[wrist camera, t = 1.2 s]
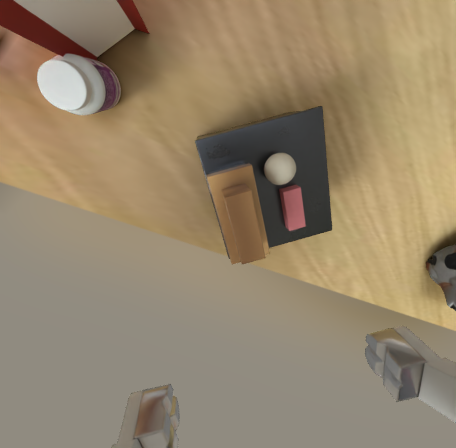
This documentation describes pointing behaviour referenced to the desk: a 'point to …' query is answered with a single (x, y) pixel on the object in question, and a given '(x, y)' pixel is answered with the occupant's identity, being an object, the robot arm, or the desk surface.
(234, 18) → the desk surface
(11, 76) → the desk surface
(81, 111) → the pill bottle
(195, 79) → the desk surface
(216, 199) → the brush
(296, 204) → the eraser
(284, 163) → the egg
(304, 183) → the cabinet
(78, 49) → the book
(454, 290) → the lucky cat figurine
